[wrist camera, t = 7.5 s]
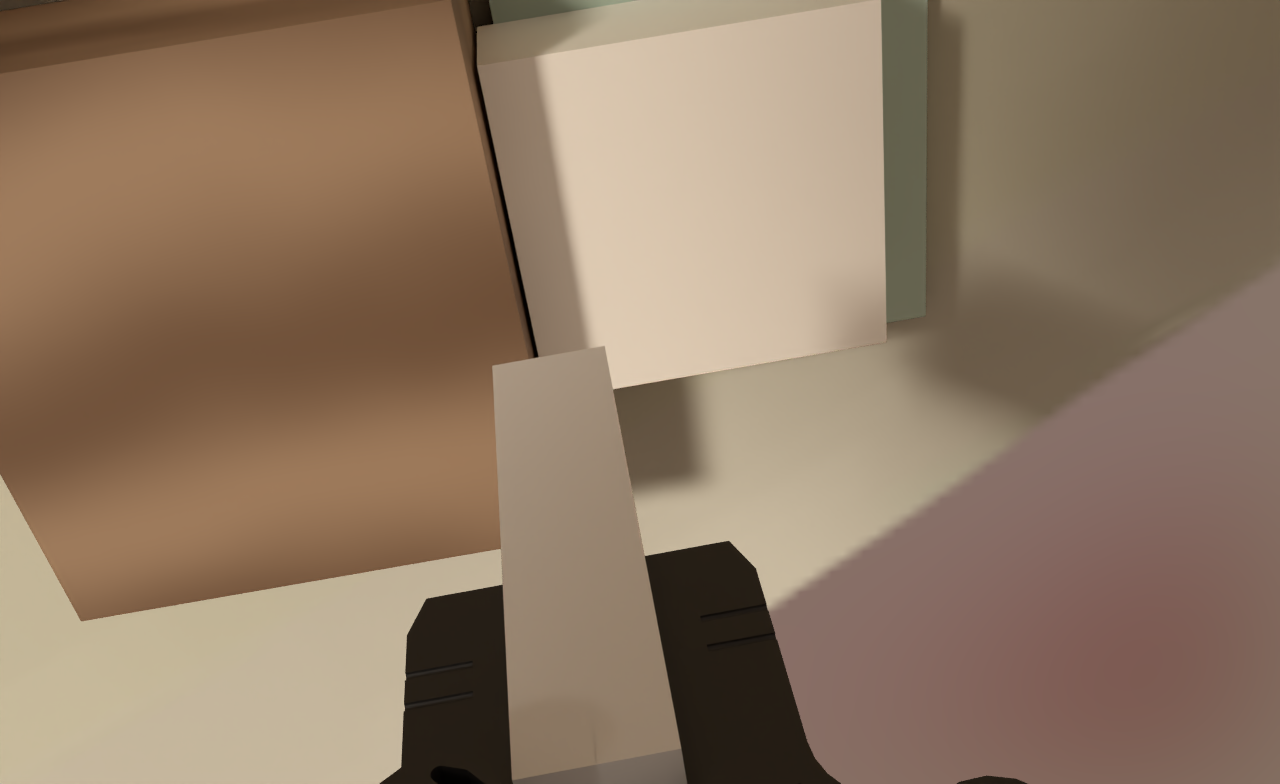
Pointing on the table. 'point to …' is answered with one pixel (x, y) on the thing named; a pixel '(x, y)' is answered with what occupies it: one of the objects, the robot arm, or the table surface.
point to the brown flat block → (249, 292)
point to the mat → (900, 138)
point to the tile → (694, 179)
